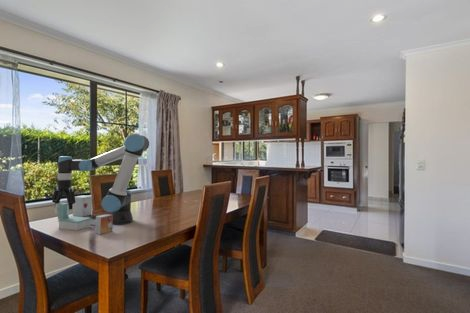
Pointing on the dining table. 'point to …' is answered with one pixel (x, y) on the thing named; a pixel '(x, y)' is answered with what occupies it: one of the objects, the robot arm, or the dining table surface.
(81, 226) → the tub
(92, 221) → the mat
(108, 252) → the dining table surface
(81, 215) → the supplement box
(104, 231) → the small box
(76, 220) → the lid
